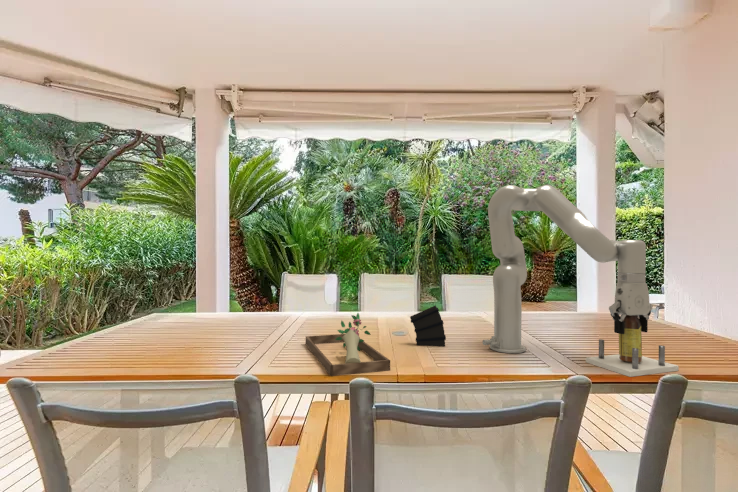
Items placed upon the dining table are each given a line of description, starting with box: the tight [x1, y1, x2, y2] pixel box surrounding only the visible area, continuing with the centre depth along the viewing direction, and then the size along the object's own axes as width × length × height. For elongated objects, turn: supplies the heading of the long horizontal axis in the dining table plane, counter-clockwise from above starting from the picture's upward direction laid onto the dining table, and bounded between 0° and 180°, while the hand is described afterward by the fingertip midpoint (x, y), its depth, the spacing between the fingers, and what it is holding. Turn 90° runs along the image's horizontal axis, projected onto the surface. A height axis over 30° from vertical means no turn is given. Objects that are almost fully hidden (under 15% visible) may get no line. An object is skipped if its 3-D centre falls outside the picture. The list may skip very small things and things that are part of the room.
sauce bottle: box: [618, 315, 643, 363], centre depth 134 cm, size 6×6×20 cm
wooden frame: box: [305, 333, 391, 377], centre depth 144 cm, size 19×41×3 cm, turn 19°
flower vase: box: [335, 312, 371, 364], centre depth 142 cm, size 12×12×35 cm
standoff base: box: [585, 338, 679, 378], centre depth 134 cm, size 20×16×8 cm
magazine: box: [409, 304, 447, 347], centre depth 160 cm, size 4×13×15 cm, turn 82°
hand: (630, 332), depth 133 cm, fingers open, 9 cm apart
